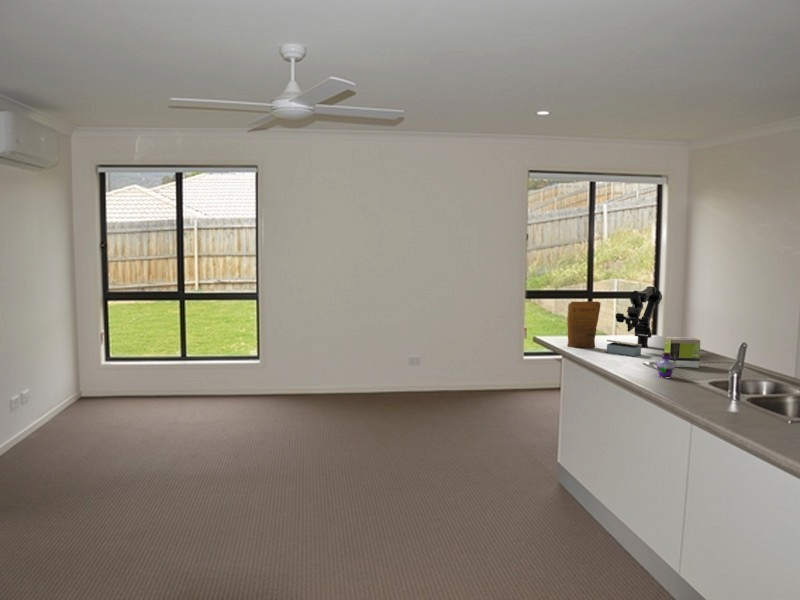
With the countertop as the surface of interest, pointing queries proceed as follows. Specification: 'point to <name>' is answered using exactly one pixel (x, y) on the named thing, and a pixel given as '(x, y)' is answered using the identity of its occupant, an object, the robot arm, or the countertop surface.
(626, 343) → the birch lid
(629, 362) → the countertop surface
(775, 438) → the countertop surface
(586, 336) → the pancake mix bag
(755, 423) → the countertop surface
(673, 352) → the tea box
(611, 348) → the slate box
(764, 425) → the countertop surface
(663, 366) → the potion bottle
